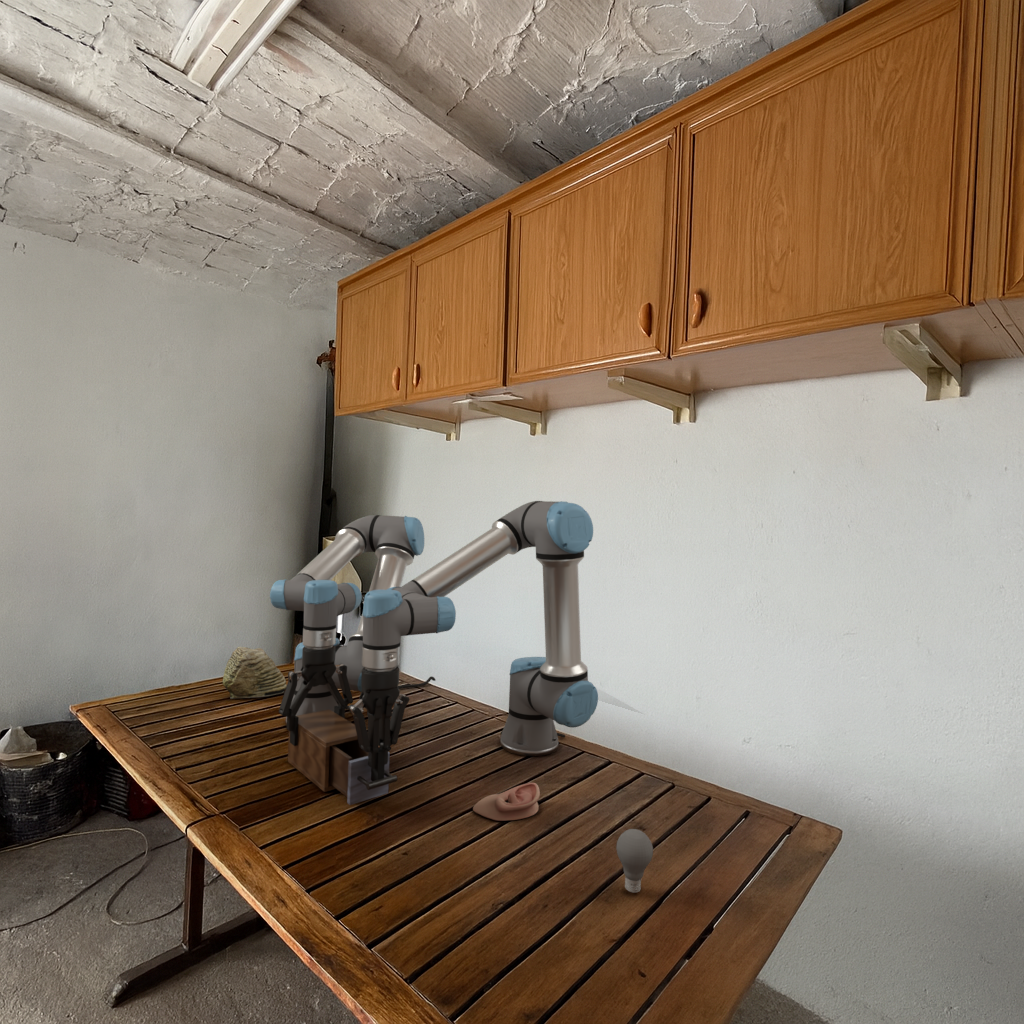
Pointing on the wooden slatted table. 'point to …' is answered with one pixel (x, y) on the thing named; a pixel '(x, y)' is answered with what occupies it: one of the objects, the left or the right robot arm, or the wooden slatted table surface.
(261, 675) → the fossil
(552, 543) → the right robot arm
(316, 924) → the wooden slatted table surface
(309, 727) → the cabinet
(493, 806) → the anatomical model
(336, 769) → the drawer
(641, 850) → the light bulb
